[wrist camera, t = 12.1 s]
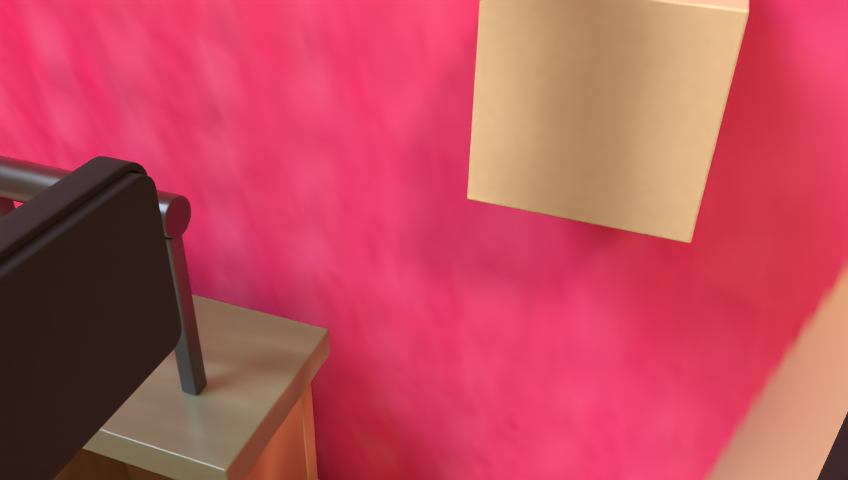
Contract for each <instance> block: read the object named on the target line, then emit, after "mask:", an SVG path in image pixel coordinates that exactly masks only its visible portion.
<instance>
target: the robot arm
mask: <svg viewBox="0 0 848 480" xmlns="http://www.w3.org/2000/svg"><path fill="white" fill-rule="evenodd" d="M181 330H182V325H181V318H180V313H179V308H178V302H177V297H176V292H175V286H174V281H173V276H172V271H171V265H170V260H169V255H168V249H167V244H166V239H165V233H164V228H163V223H162V217H161V212H160V207H159V201H158V196H157V191H156V186H155V183H154V181H153V180H152V178H151V177H149V176H147V173H146V171H145V169H144V168H143V167H142V166H141V165H139V164H138V163H134V162H129V161H124V160H119V159H114V158H109V157H102V156H99V157H96V158H94V159H92V160H90V161H89V162H87V163H86V164H84V165H82V166H81V167H79V168H78V169H76V170H75V171H73V172H72V173H70V174H69V175H67V176H65V177H64V178H62V179H61V180H59V181H58V182H56V183H55V184H53V185H52V186H50V187H49V188H47V189H45V190H44V191H42V192H41V193H39V194H38V195H36V196H35V197H33V198H32V199H30V200H29V201H27V202H25V203H24V204H22V205H21V206H19V207H18V208H16V209H15V210H13V211H12V212H10V213H8V214H7V215H5V216H4V217H2V218H1V219H0V480H53V479H54V478H55V477H56V476H57V475H58V474H59V473H60V471H61V470H62V469H63V468H64V467H65V466H66V465H67V464H68V463H69V462H70V461H71V460H72V459H73V457H74V456H75V455H76V454H77V453H78V452H79V451H80V450H81V449H82V448H83V447H84V446H85V445H86V443H87V442H88V441H89V440H90V439H91V438H92V437H93V436H94V435H95V434H96V433H97V432H98V431H99V429H100V428H101V427H102V426H103V425H104V424H105V423H106V422H107V421H108V420H109V419H110V418H111V417H112V415H113V414H114V413H115V412H116V411H117V410H118V409H119V408H120V407H121V406H122V405H123V404H124V403H125V401H126V400H127V399H128V398H129V397H130V396H131V395H132V394H133V393H134V392H135V391H136V390H137V389H138V387H139V386H140V385H141V384H142V383H143V382H144V381H145V380H146V379H147V378H148V377H149V376H150V375H151V373H152V372H153V371H154V370H155V369H156V368H157V367H158V366H159V365H160V364H161V363H162V362H163V361H164V360H165V358H166V357H167V356H168V355H169V354H170V353H171V352H172V351H173V350H174V348H175V347H176V345H177V343H178V341H179V339H180V336H181ZM817 480H848V413H847V415H846V417H845V419H844V422H843V424H842V426H841V428H840V430H839V433H838V435H837V437H836V439H835V442H834V444H833V446H832V448H831V450H830V453H829V455H828V457H827V459H826V462H825V464H824V466H823V468H822V470H821V473H820V475H819V477H818V479H817Z"/></svg>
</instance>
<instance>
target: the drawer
mask: <svg viewBox="0 0 848 480" xmlns="http://www.w3.org/2000/svg"><path fill="white" fill-rule="evenodd" d="M72 172H73V171H69V170H64V169H60V168H55V167H50V166H46V165H41V164H37V163H32V162H28V161H23V160H19V159H14V158H10V157H5V156H1V155H0V219H1V218H2V217H4V216H5V215H7V214H8V213H10V212H12V211H13V210H15V206H14V202H13V201H17V202H21V203H25V202H27V201H29V200H30V199H32V198H33V197H35V196H36V195H38V194H39V193H41V192H42V191H44V190H45V189H47V188H49V187H50V186H52V185H53V184H55V183H56V182H58V181H59V180H61V179H62V178H64V177H65V176H67V175H69V174H70V173H72ZM156 191H157V196H158V201H159V207H160V212H161V217H162V223H163V228H164V233H165V239H166V244H167V249H168V255H169V260H170V265H171V271H172V276H173V281H174V286H175V292H176V297H177V302H178V308H179V313H180V318H181V325H182V330H181V336H180V339H179V341H178V343H177V345H176V347H175V348H174V350H173V351H172V352H171V353H170V354H169V355H168V356H167V357H166V358H165V360H164V361H163V362H162V363H161V364H160V365H159V366H158V367H157V368H156V369H155V370H154V371H153V372H152V373H151V375H150V376H149V377H148V378H147V379H146V380H145V381H144V382H143V383H142V384H141V385H140V386H139V387H138V389H137V390H136V391H135V392H134V393H133V394H132V395H131V396H130V397H129V398H128V399H127V400H126V401H125V403H124V404H123V405H122V406H121V407H120V408H119V409H118V410H117V411H116V412H115V413H114V414H113V415H112V417H111V418H110V419H109V420H108V421H107V422H106V423H105V424H104V425H103V426H102V427H101V428H100V429H99V431H98V432H97V433H96V434H95V435H94V436H93V437H92V438H91V439H90V440H89V441H88V442H87V443H86V445H85V446H84V447H83V448H82V449H81V450H80V451H79V452H78V453H77V454H76V455H75V456H74V457H73V459H72V460H71V461H70V462H69V463H68V464H67V465H66V466H65V467H64V468H63V469H62V470H61V471H60V473H59V474H58V475H57V476H56V477H55V478H54V479H53V480H318V473H317V459H316V445H315V432H314V418H313V404H312V390H311V381H312V380H313V378H314V377H315V375H316V374H317V372H318V371H319V370H320V368H321V367H322V365H323V364H324V362H325V361H326V359H327V358H328V357H329V355H330V340H329V330H328V329H326V328H322V327H318V326H314V325H310V324H307V323H303V322H299V321H295V320H291V319H287V318H283V317H280V316H276V315H272V314H268V313H264V312H260V311H256V310H253V309H249V308H245V307H241V306H237V305H233V304H229V303H226V302H222V301H218V300H214V299H210V298H206V297H202V296H199V295H195V294H192V292H191V286H190V280H189V274H188V268H187V262H186V257H185V251H184V245H183V239H182V234H183V233H184V232H185V230H186V229H187V227H188V224H189V221H190V217H191V207H190V203H189V201H188V199H187V198H186V197H184V196H182V195H177V194H173V193H168V192H164V191H159V190H156Z"/></svg>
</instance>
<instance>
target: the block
mask: <svg viewBox="0 0 848 480" xmlns="http://www.w3.org/2000/svg"><path fill="white" fill-rule="evenodd" d="M749 2H750V0H480V6H479V21H478V37H477V52H476V68H475V83H474V99H473V114H472V130H471V145H470V161H469V176H468V192H467V198H468V199H469V200H474V201H479V202H484V203H489V204H494V205H499V206H504V207H509V208H514V209H519V210H524V211H529V212H534V213H539V214H544V215H550V216H555V217H560V218H565V219H570V220H575V221H580V222H585V223H590V224H595V225H600V226H605V227H610V228H615V229H620V230H625V231H630V232H635V233H640V234H645V235H650V236H655V237H660V238H665V239H670V240H675V241H680V242H685V243H690V242H691V240H692V236H693V232H694V228H695V225H696V221H697V217H698V213H699V209H700V205H701V201H702V197H703V193H704V189H705V185H706V181H707V177H708V173H709V169H710V165H711V161H712V158H713V154H714V150H715V146H716V142H717V138H718V134H719V130H720V126H721V122H722V118H723V114H724V110H725V106H726V102H727V98H728V94H729V91H730V87H731V83H732V79H733V75H734V71H735V67H736V63H737V59H738V55H739V51H740V47H741V43H742V39H743V35H744V31H745V27H746V24H747V20H748V16H749Z"/></svg>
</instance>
